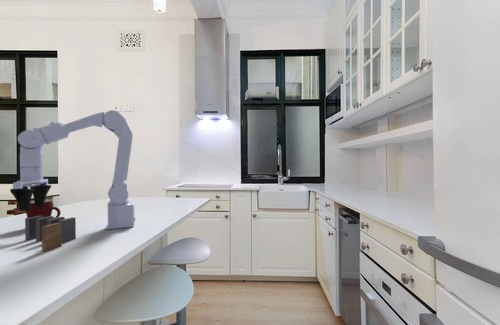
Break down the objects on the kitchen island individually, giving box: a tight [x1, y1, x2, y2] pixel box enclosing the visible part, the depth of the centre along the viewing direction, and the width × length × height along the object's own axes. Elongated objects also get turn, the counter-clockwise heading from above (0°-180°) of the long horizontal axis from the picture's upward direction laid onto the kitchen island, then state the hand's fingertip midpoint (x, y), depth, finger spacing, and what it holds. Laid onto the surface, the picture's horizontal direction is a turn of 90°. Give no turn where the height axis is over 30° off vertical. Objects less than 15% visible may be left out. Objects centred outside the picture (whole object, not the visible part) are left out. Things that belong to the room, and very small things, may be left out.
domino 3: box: [35, 215, 55, 242], centre depth 81 cm, size 2×4×7 cm, turn 167°
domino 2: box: [47, 216, 66, 225], centre depth 80 cm, size 2×4×7 cm, turn 167°
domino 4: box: [41, 223, 63, 253], centre depth 72 cm, size 2×4×7 cm, turn 167°
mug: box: [25, 199, 61, 218], centre depth 96 cm, size 10×8×10 cm
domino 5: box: [58, 216, 77, 244], centre depth 79 cm, size 2×4×7 cm, turn 167°
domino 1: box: [24, 216, 43, 241], centre depth 82 cm, size 2×4×7 cm, turn 167°
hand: (32, 208), depth 82 cm, fingers open, 7 cm apart
